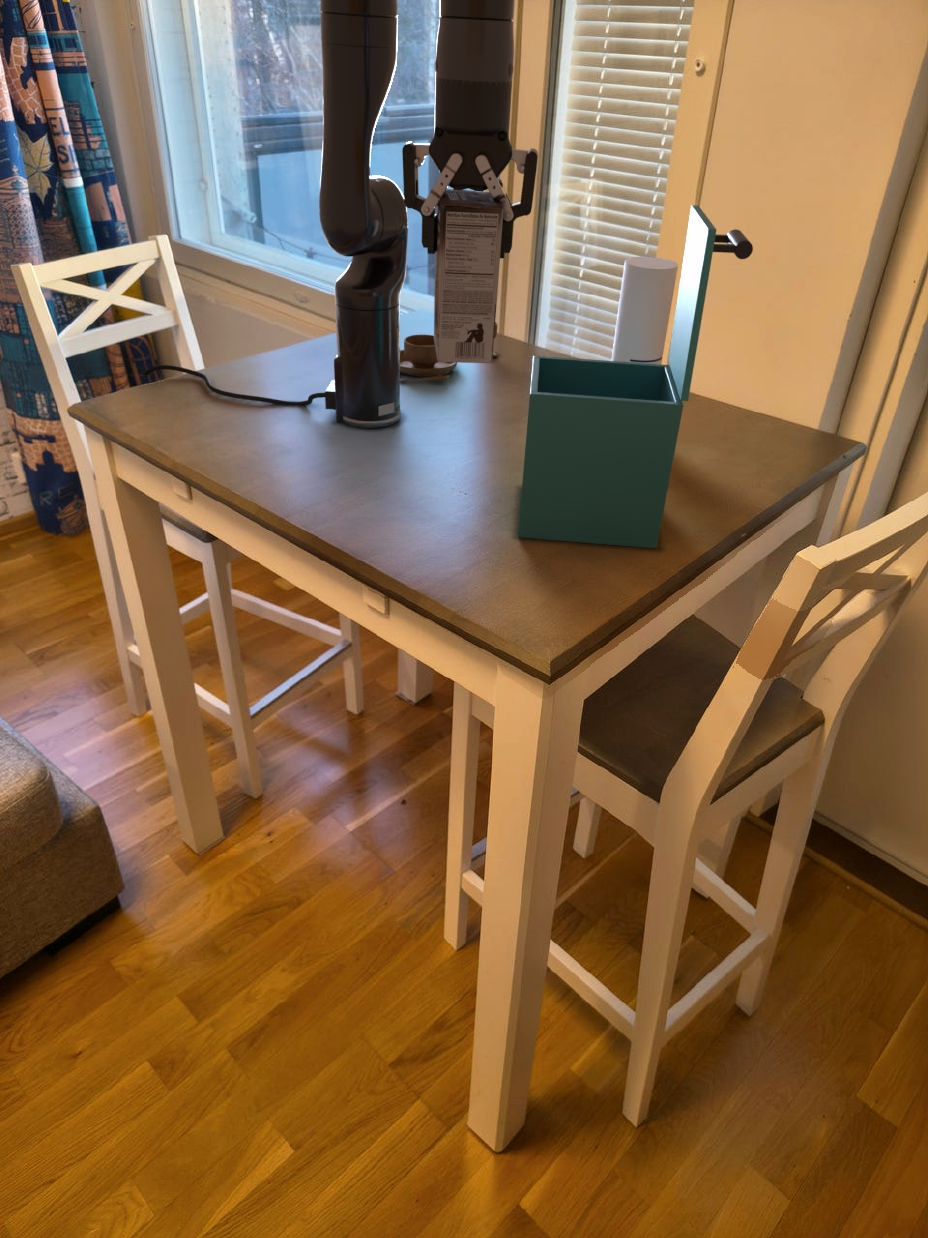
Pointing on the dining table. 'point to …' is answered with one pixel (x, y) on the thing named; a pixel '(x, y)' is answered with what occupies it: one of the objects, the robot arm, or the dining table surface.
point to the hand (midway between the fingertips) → (466, 254)
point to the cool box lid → (697, 291)
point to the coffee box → (466, 275)
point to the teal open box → (598, 451)
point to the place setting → (425, 358)
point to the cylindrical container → (644, 309)
